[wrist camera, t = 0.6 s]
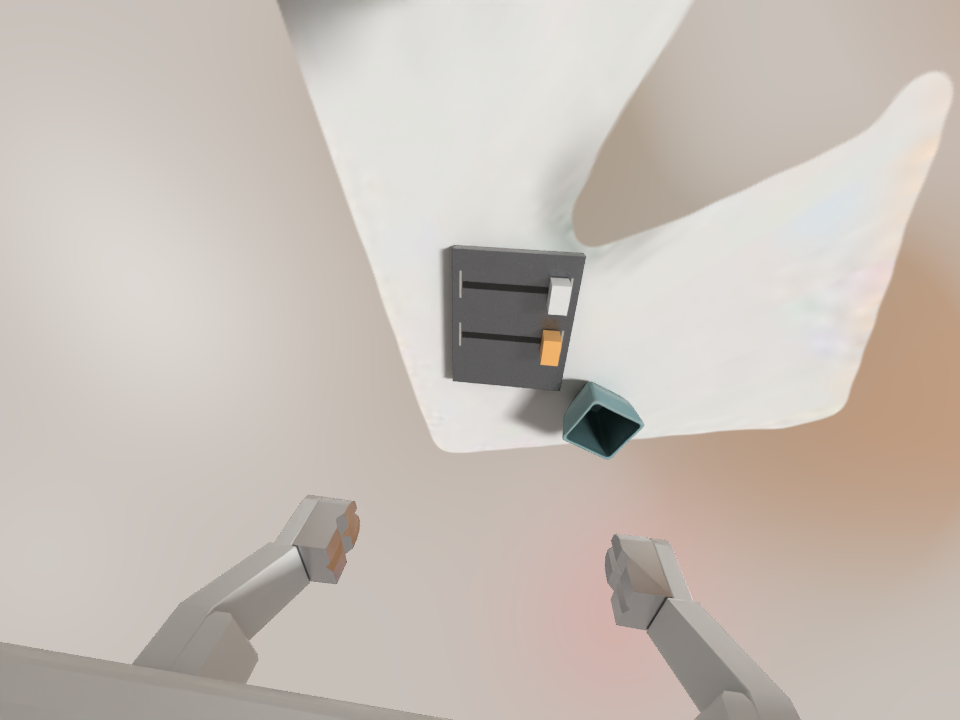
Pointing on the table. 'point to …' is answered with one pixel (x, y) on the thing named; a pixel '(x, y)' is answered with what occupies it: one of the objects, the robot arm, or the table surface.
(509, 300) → the console
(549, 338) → the fader
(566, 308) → the block
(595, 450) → the flower pot
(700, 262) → the table surface
